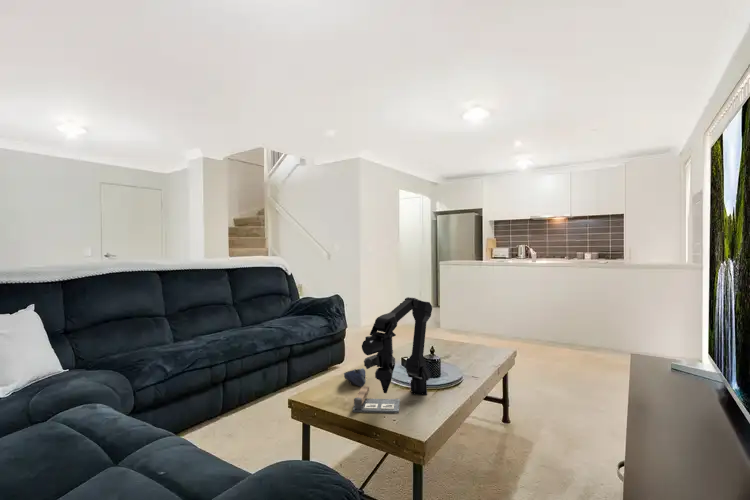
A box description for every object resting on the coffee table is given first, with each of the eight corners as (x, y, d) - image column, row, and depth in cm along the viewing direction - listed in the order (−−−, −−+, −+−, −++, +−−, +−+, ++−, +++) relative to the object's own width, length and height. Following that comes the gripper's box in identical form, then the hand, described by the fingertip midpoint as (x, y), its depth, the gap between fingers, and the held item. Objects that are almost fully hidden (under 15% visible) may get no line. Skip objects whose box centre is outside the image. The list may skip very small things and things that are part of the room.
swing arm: (362, 391, 164) (362, 385, 164) (369, 392, 163) (369, 385, 163) (353, 408, 148) (353, 400, 148) (360, 408, 147) (360, 400, 147)
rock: (346, 390, 169) (368, 385, 170) (342, 372, 172) (364, 366, 173) (348, 389, 184) (368, 384, 185) (345, 372, 187) (364, 367, 187)
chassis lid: (400, 401, 157) (399, 398, 157) (398, 413, 146) (398, 410, 146) (356, 400, 159) (356, 397, 159) (352, 412, 148) (352, 409, 148)
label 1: (378, 404, 152) (378, 403, 152) (377, 408, 148) (377, 407, 148) (365, 404, 153) (365, 403, 153) (364, 408, 149) (364, 407, 149)
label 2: (394, 404, 152) (394, 403, 152) (393, 409, 148) (393, 408, 148) (381, 404, 152) (381, 403, 152) (380, 409, 148) (380, 407, 148)
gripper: (368, 342, 160) (369, 379, 160) (361, 356, 141) (362, 397, 142) (394, 342, 158) (395, 380, 159) (391, 356, 140) (392, 398, 140)
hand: (386, 388), depth 150 cm, fingers open, 9 cm apart
